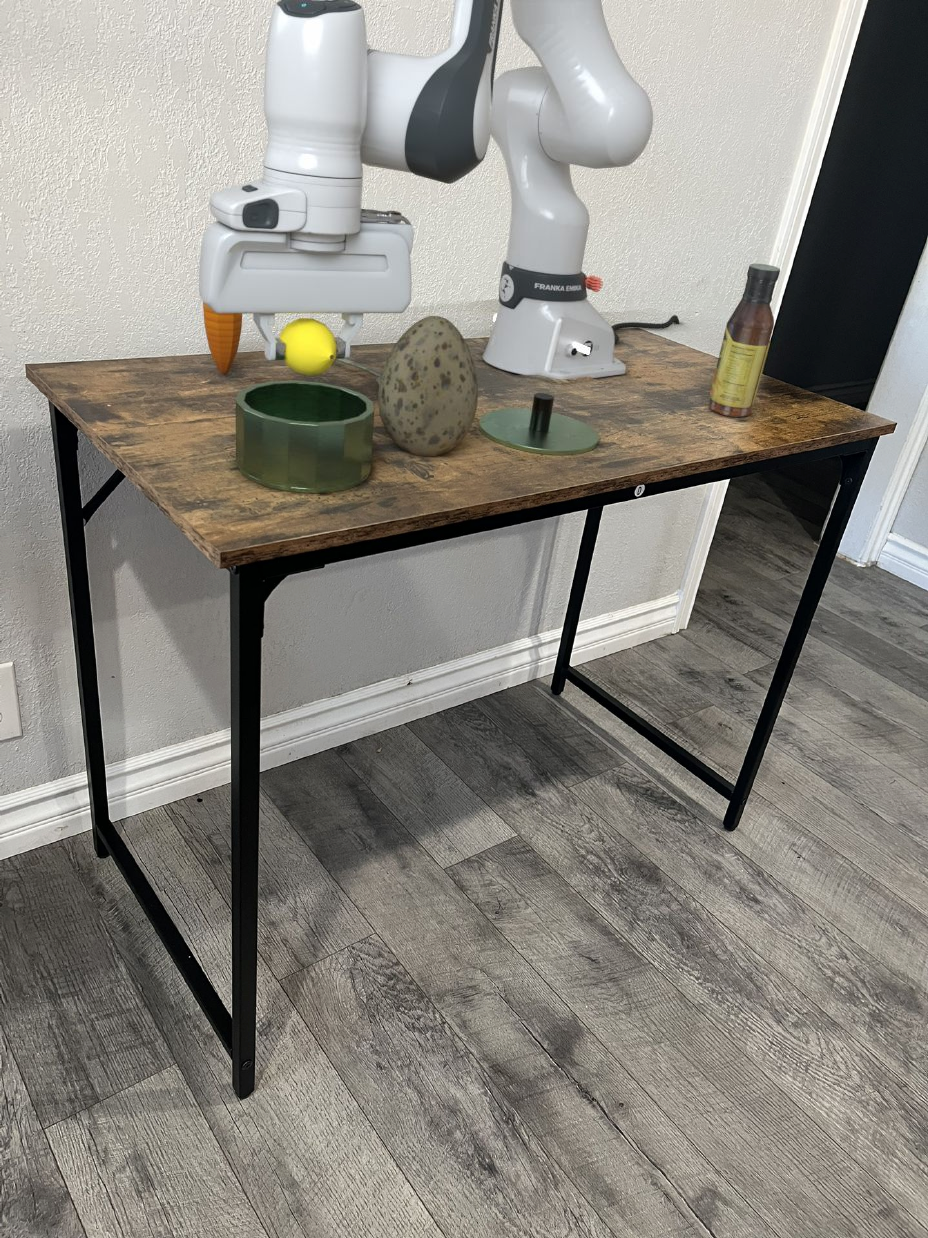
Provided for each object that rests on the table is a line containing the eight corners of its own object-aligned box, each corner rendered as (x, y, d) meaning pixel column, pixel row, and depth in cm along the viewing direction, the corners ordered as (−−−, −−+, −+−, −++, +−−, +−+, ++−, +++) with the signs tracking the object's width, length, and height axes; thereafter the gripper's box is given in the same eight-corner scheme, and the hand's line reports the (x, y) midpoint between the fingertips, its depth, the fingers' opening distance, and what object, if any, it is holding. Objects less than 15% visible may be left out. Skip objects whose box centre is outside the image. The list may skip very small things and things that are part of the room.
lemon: (264, 367, 94) (264, 312, 91) (308, 362, 97) (310, 308, 94) (306, 388, 90) (308, 330, 87) (351, 381, 93) (354, 325, 90)
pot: (340, 439, 106) (343, 378, 103) (391, 486, 96) (396, 420, 93) (220, 448, 100) (219, 383, 96) (261, 498, 90) (262, 428, 86)
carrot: (238, 382, 120) (238, 257, 112) (199, 377, 120) (196, 252, 112) (246, 371, 124) (247, 251, 117) (209, 366, 124) (206, 246, 116)
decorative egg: (468, 442, 111) (485, 311, 103) (471, 476, 101) (490, 335, 94) (376, 432, 110) (386, 299, 102) (371, 466, 100) (381, 322, 93)
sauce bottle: (721, 402, 138) (758, 259, 128) (758, 415, 134) (799, 269, 124) (696, 408, 134) (733, 261, 124) (735, 422, 130) (775, 271, 120)
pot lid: (554, 414, 124) (560, 375, 121) (621, 455, 113) (629, 412, 110) (456, 420, 117) (461, 379, 114) (518, 464, 106) (524, 419, 103)
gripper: (400, 205, 93) (390, 347, 100) (191, 194, 83) (195, 351, 90) (429, 217, 88) (416, 364, 95) (211, 206, 79) (214, 370, 85)
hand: (307, 358), depth 92 cm, fingers closed on lemon, 5 cm apart
